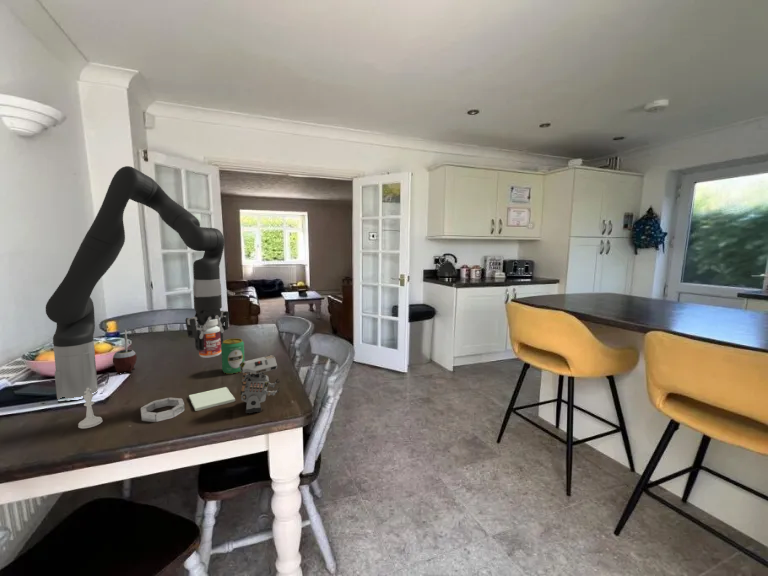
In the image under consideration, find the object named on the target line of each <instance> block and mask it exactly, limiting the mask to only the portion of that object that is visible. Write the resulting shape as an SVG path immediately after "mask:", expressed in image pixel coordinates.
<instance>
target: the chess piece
mask: <svg viewBox="0 0 768 576" xmlns="http://www.w3.org/2000/svg"><path fill="white" fill-rule="evenodd" d="M90 391H91V389H89V388H86V391H85V392H84V393H87V394H86V395H84V396H83V398H84V399H83V400H85V403H84V404H83V406H84V407H86V414H85V417H84V419H82V420H80V421H79V423H78V424H77V425H78V426H77V427H78V428H79V429H89V428H94V427H96V426H98V425H100V424H101V423H103V418H102V417H101V416H97V415H94V411H93V407H92V406H93V405H95V402H94V401H92V400H93V398H94V395H93V394H92V393H90Z"/></svg>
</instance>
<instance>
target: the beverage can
mask: <svg viewBox="0 0 768 576" xmlns="http://www.w3.org/2000/svg"><path fill="white" fill-rule="evenodd" d="M244 361H246V360H245V342H244V341H243V339H242V338H237V337H236V338H234V337H233V338H228V339H225V340H224V339H223V342H222V344H221V370H222V372H223V373H224V374H225V373H226V374H225V375H234V374H233V373H236V374H239V373H238V372H240V373H242V372H241V370H240V366H239V364H241V363H242V362H244Z"/></svg>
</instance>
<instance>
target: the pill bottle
mask: <svg viewBox="0 0 768 576" xmlns="http://www.w3.org/2000/svg"><path fill="white" fill-rule="evenodd" d="M217 324H218V320H217V319H212V320H211V321H209V322H208V328H207V331H205V332H204V335H203V339H204V350H203V351H198V356H199V357H200V358H204V359H205V358H214V357H217V356H220V355H222V351H221V345H222V344H221V337H220V328H219V327H218V326H216V325H217ZM199 326H200V328H203V326H202V325H199ZM199 333H200V331H199Z"/></svg>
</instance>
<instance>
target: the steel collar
mask: <svg viewBox="0 0 768 576" xmlns="http://www.w3.org/2000/svg"><path fill="white" fill-rule="evenodd" d="M164 407H172V408H171V409H168V410H164V411H159V412H153V411H154V410H156V409H161V408H164ZM184 411H185V402H184V400H183V398H181V397H180V398H177V397H166V398H161V399H156V400H153V401H150V402H149V403H147V404H145V405H144V406H142V407H140V417H141V422H142V421H143V422H149V423H150V422H151V423H152V422H153V423H157V422H162V421H165V420H169V419H173V418H175V417H177V416H179V415H180V414H181V413H183V412H184Z"/></svg>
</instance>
